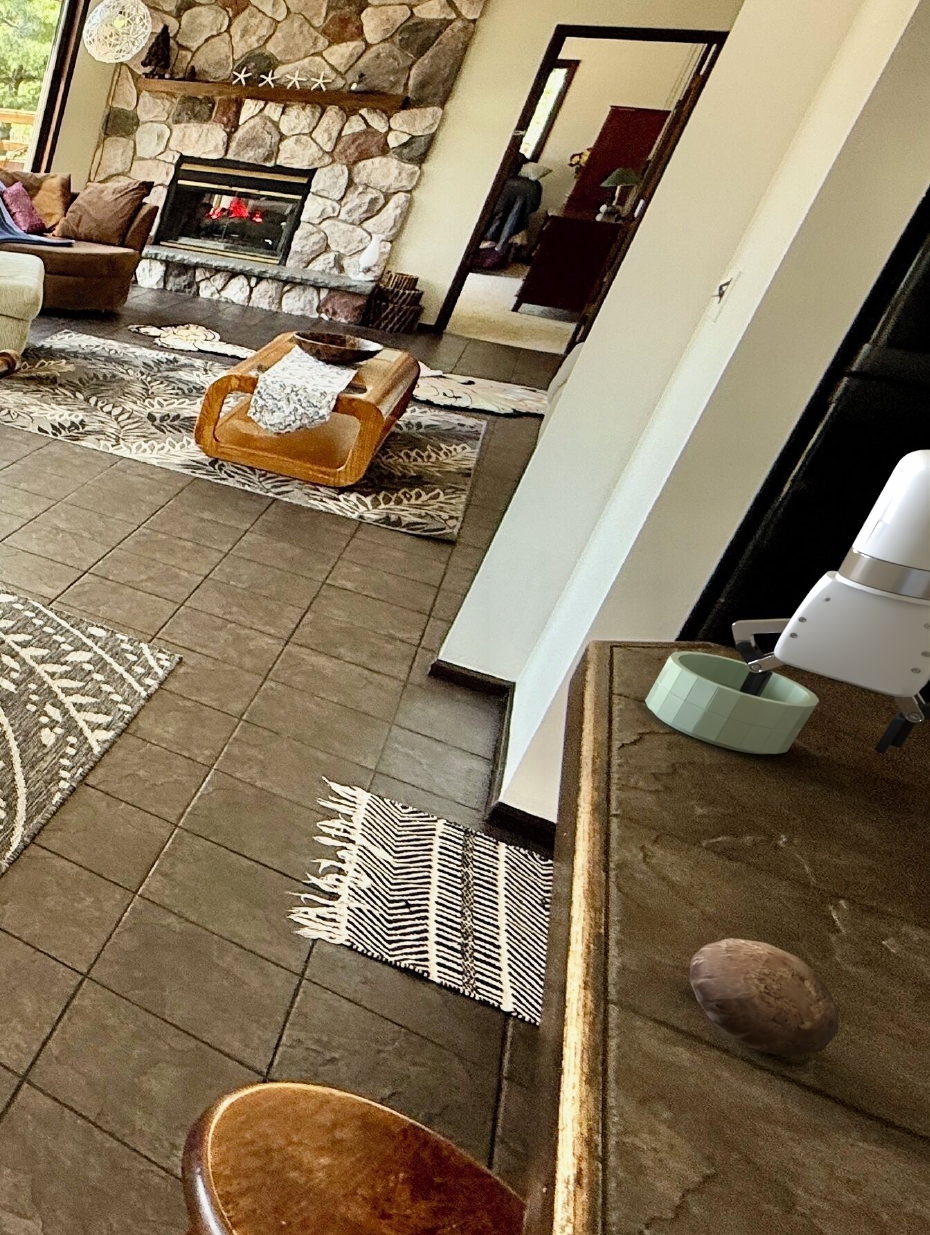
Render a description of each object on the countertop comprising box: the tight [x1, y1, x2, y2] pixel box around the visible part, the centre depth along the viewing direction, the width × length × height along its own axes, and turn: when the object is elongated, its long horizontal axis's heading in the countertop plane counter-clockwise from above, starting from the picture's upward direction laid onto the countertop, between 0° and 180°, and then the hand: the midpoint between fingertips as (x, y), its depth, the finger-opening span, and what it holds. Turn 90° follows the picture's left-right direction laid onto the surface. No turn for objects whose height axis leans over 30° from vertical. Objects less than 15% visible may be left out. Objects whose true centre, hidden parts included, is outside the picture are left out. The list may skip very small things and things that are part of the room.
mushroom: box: [689, 937, 839, 1057], centre depth 73 cm, size 8×8×6 cm
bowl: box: [644, 650, 820, 755], centre depth 113 cm, size 11×11×6 cm
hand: (812, 726), depth 107 cm, fingers open, 9 cm apart
